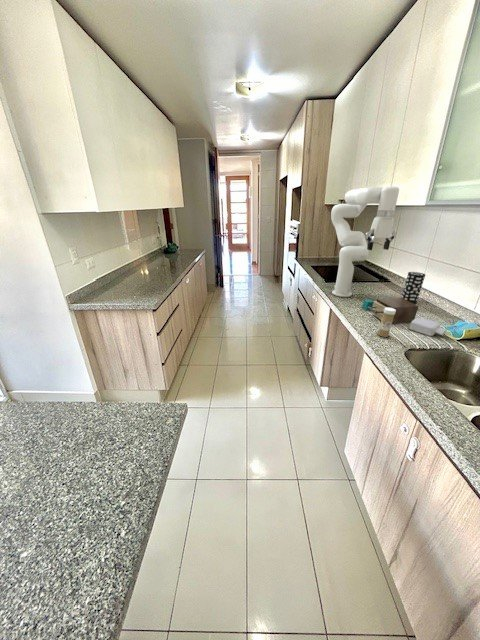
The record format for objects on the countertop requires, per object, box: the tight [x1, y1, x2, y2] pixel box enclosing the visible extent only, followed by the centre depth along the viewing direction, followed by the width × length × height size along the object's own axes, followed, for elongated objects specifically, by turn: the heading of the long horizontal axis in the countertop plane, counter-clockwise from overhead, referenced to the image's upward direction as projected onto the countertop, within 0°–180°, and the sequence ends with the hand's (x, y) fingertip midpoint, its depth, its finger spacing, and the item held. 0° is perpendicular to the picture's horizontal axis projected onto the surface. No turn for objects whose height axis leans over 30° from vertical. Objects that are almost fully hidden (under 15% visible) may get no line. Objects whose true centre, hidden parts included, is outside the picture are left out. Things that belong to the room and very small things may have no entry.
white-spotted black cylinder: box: [400, 271, 426, 305], centre depth 151 cm, size 8×8×20 cm
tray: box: [367, 300, 390, 321], centre depth 137 cm, size 18×11×7 cm, turn 99°
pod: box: [361, 298, 375, 311], centre depth 151 cm, size 4×4×5 cm
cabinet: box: [376, 297, 419, 325], centre depth 138 cm, size 15×13×9 cm
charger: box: [409, 316, 451, 337], centre depth 124 cm, size 5×9×15 cm
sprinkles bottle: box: [377, 307, 396, 338], centre depth 119 cm, size 5×5×14 cm
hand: (377, 249), depth 136 cm, fingers open, 9 cm apart
